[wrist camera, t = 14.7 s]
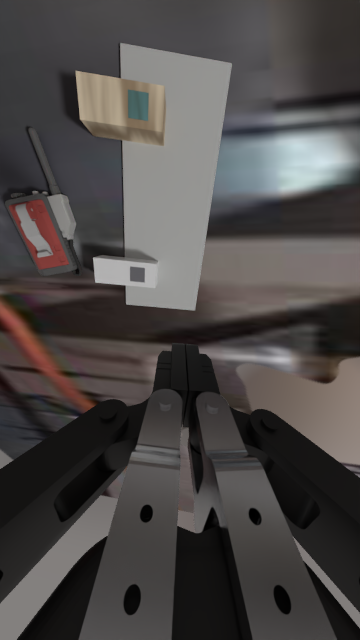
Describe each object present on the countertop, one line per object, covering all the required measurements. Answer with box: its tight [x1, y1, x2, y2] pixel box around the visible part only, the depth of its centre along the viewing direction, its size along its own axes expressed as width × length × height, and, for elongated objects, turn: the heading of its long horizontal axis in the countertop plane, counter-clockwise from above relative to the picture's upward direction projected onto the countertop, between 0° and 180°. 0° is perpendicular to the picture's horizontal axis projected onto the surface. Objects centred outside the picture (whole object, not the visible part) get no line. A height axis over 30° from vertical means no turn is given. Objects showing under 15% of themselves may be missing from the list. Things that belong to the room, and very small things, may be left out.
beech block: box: [76, 71, 166, 146], centre depth 23 cm, size 4×4×10 cm
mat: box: [120, 43, 232, 310], centre depth 30 cm, size 14×34×1 cm, turn 174°
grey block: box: [93, 255, 158, 288], centre depth 32 cm, size 4×4×10 cm
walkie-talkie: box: [5, 127, 82, 276], centre depth 28 cm, size 9×4×20 cm
